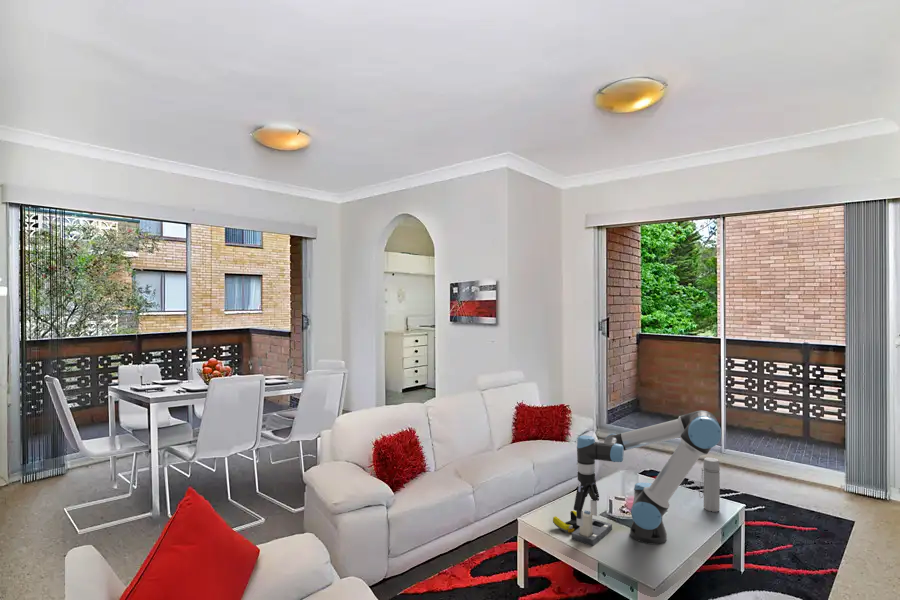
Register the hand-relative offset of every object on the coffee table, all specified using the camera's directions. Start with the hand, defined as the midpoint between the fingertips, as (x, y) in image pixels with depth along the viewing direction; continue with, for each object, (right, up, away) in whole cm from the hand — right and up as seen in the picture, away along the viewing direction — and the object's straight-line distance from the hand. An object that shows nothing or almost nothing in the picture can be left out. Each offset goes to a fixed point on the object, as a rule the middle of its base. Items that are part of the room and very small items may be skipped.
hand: (587, 520), depth 230 cm
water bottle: (+69, -8, +32) cm, 77 cm away
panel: (+4, -8, +5) cm, 10 cm away
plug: (0, -8, 0) cm, 8 cm away
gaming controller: (-5, -9, +11) cm, 15 cm away
